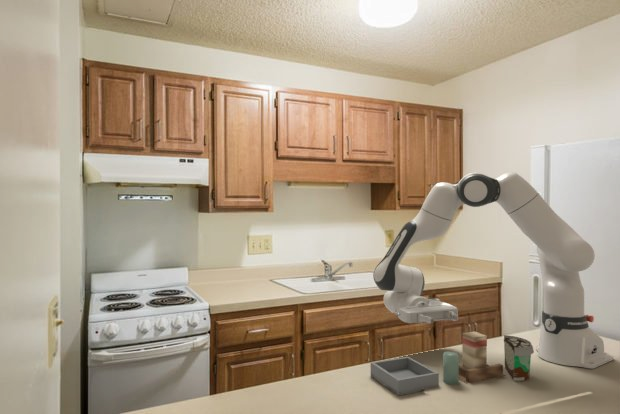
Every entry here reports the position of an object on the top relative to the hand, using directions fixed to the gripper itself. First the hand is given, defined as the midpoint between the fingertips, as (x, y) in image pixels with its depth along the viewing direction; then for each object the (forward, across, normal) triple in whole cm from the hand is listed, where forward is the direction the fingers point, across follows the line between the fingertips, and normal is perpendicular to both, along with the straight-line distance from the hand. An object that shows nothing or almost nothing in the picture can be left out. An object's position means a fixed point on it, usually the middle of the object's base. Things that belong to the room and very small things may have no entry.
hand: (444, 319), depth 132 cm
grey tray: (+8, -20, +13) cm, 26 cm away
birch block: (+12, 0, +12) cm, 17 cm away
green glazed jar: (+14, -10, +13) cm, 22 cm away
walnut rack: (+12, 0, +13) cm, 18 cm away
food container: (+18, +12, +13) cm, 25 cm away
